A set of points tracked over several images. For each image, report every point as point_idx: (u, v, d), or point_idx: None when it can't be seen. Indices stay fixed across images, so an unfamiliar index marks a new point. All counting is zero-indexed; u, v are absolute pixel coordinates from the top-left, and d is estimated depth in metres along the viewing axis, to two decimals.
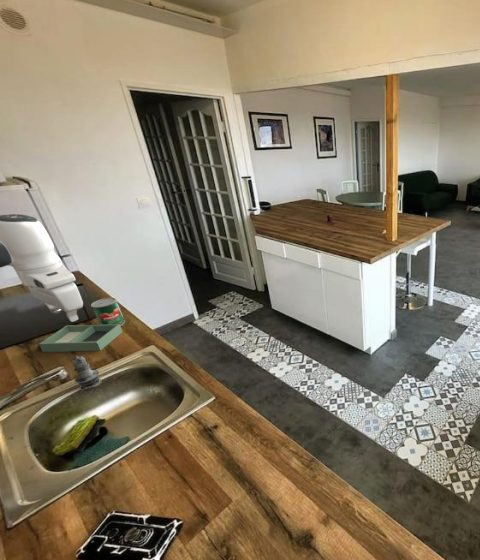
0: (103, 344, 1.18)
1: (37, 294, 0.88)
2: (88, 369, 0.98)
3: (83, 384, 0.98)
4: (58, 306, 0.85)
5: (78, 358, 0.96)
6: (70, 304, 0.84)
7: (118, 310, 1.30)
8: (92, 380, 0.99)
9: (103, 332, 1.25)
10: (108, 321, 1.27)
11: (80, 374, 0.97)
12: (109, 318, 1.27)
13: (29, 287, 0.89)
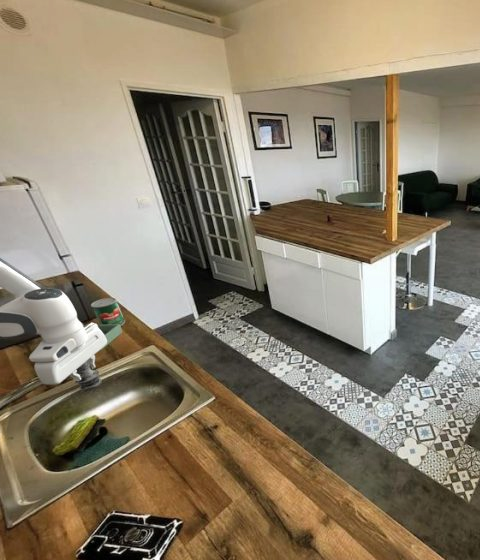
0: None
1: None
2: (88, 369, 0.98)
3: (83, 384, 0.98)
4: None
5: None
6: (44, 380, 0.87)
7: (118, 310, 1.30)
8: (92, 380, 0.99)
9: (103, 332, 1.25)
10: (108, 321, 1.27)
11: None
12: (109, 318, 1.27)
13: None
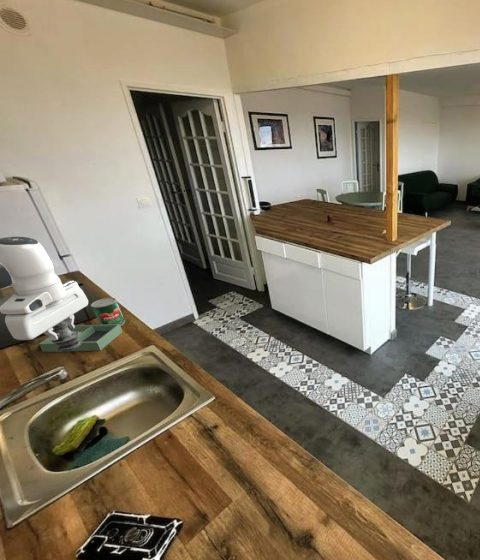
0: (103, 344, 1.18)
1: None
2: (66, 329, 0.92)
3: (60, 344, 0.91)
4: None
5: None
6: (15, 334, 0.81)
7: (118, 310, 1.30)
8: (70, 341, 0.92)
9: (103, 332, 1.25)
10: (108, 321, 1.27)
11: None
12: (109, 318, 1.27)
13: None
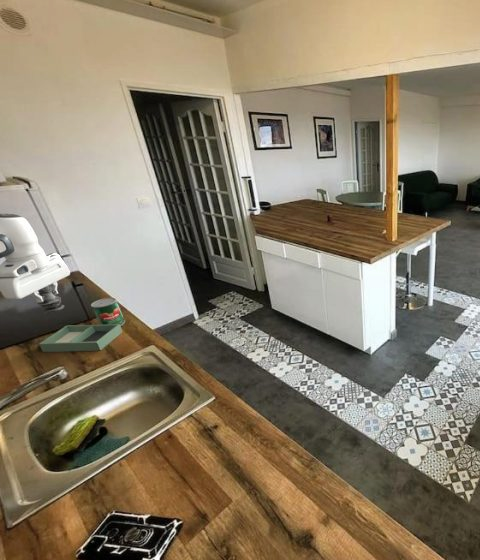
0: (103, 344, 1.18)
1: None
2: (50, 293, 1.08)
3: (45, 306, 1.08)
4: None
5: None
6: (6, 294, 0.97)
7: (118, 310, 1.30)
8: (54, 303, 1.09)
9: (103, 332, 1.25)
10: (108, 321, 1.27)
11: None
12: (109, 318, 1.27)
13: None
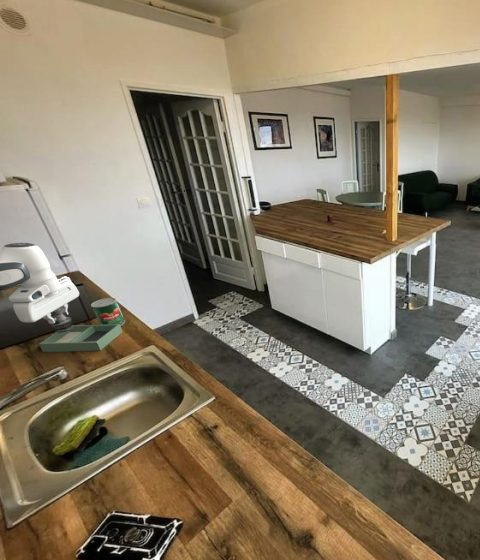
0: (103, 344, 1.18)
1: None
2: (61, 314, 1.15)
3: (57, 327, 1.15)
4: None
5: None
6: (21, 317, 1.04)
7: (118, 310, 1.30)
8: (65, 324, 1.16)
9: (103, 332, 1.25)
10: (108, 321, 1.27)
11: None
12: (109, 318, 1.27)
13: None
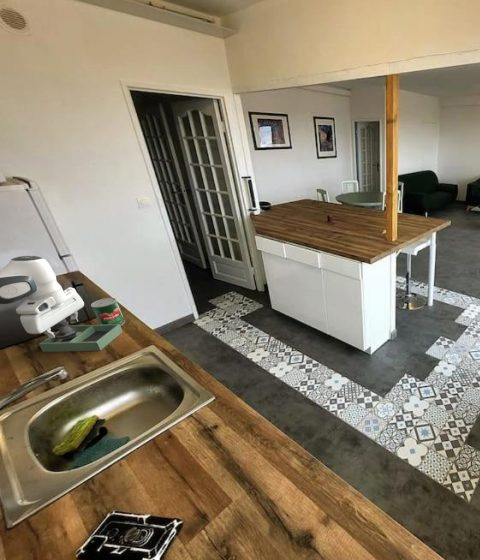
0: (103, 344, 1.18)
1: None
2: (67, 326, 1.17)
3: (63, 338, 1.17)
4: None
5: None
6: (28, 329, 1.06)
7: (118, 310, 1.30)
8: (70, 335, 1.18)
9: (103, 332, 1.25)
10: (108, 321, 1.27)
11: (60, 329, 1.16)
12: (109, 318, 1.27)
13: None
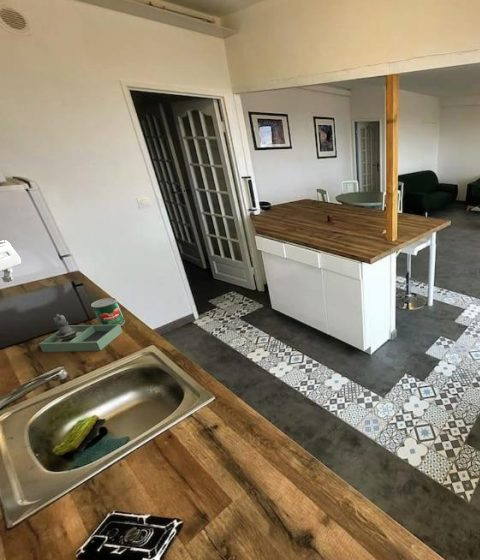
0: (103, 344, 1.18)
1: None
2: (67, 326, 1.17)
3: (63, 338, 1.17)
4: None
5: (58, 316, 1.15)
6: None
7: (118, 310, 1.30)
8: (70, 335, 1.18)
9: (103, 332, 1.25)
10: (108, 321, 1.27)
11: (60, 329, 1.16)
12: (109, 318, 1.27)
13: None
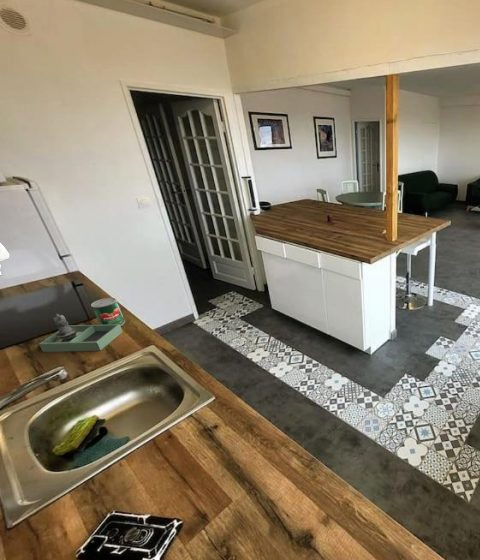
0: (103, 344, 1.18)
1: None
2: (67, 326, 1.17)
3: (63, 338, 1.17)
4: None
5: (58, 316, 1.15)
6: None
7: (118, 310, 1.30)
8: (70, 335, 1.18)
9: (103, 332, 1.25)
10: (108, 321, 1.27)
11: (60, 329, 1.16)
12: (109, 318, 1.27)
13: None
